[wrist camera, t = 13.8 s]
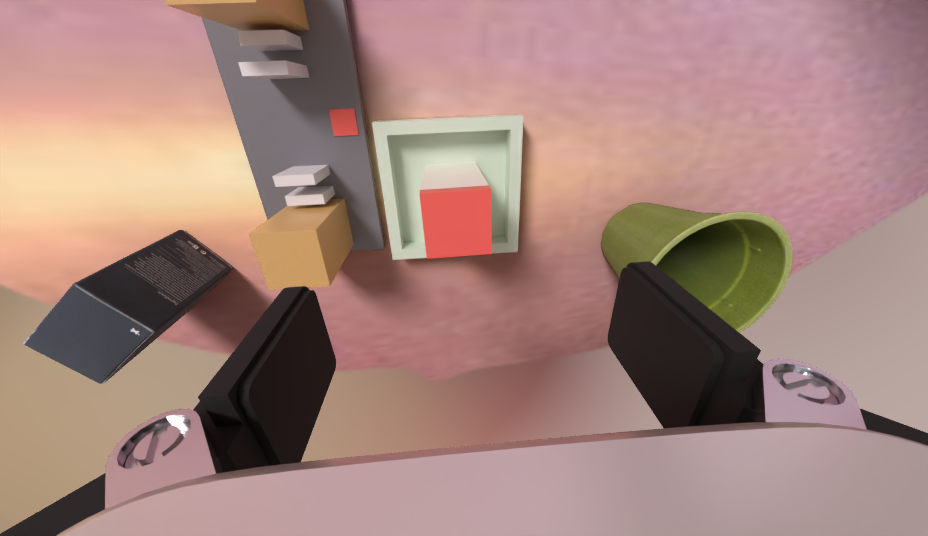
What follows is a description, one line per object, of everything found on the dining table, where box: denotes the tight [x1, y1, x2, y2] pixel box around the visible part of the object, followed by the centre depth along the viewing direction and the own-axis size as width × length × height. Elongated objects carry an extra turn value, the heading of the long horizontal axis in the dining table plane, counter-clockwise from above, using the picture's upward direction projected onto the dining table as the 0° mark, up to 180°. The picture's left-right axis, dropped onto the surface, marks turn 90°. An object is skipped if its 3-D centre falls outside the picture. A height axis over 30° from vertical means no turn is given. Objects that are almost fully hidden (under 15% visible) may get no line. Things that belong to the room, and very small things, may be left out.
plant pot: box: [601, 203, 793, 333], centre depth 30 cm, size 12×12×11 cm
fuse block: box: [164, 0, 385, 290], centre depth 24 cm, size 10×23×9 cm, turn 2°
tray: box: [372, 114, 523, 260], centre depth 30 cm, size 12×12×2 cm
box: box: [24, 230, 233, 383], centre depth 29 cm, size 8×6×11 cm
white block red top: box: [419, 162, 492, 259], centre depth 26 cm, size 4×4×10 cm
